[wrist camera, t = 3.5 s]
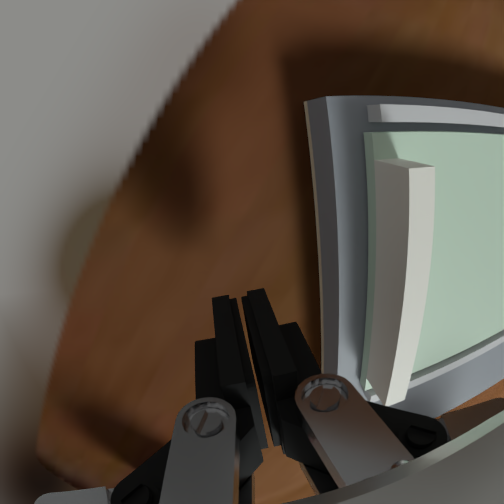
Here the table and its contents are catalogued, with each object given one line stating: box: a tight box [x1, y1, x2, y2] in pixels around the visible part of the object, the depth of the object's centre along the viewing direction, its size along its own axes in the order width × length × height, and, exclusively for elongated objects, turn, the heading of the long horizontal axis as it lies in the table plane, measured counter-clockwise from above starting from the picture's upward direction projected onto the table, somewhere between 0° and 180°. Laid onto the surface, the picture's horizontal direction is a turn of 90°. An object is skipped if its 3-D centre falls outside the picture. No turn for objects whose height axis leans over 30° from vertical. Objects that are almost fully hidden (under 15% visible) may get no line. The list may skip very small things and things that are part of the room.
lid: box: [360, 131, 504, 406], centre depth 11 cm, size 11×11×3 cm
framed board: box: [304, 96, 504, 418], centre depth 15 cm, size 22×20×3 cm
